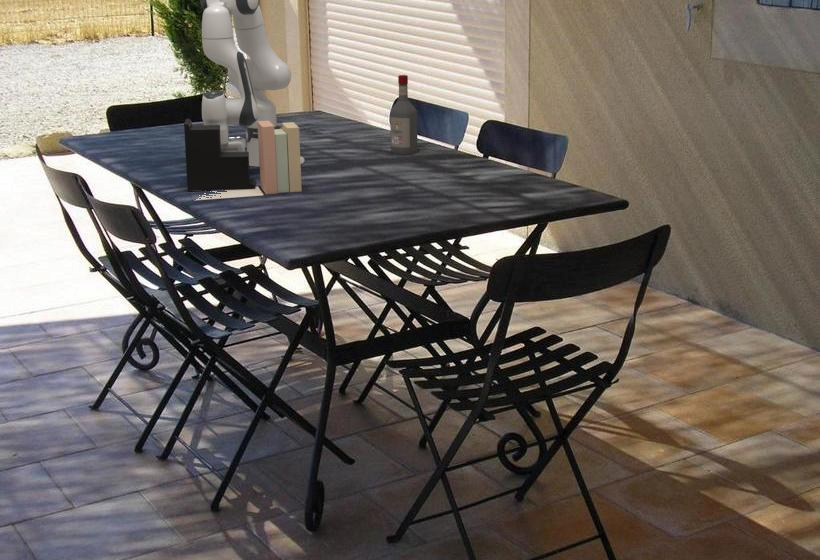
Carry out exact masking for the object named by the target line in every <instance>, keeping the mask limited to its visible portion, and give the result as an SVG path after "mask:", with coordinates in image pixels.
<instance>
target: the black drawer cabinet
mask: <svg viewBox="0 0 820 560" xmlns="http://www.w3.org/2000/svg"><path fill="white" fill-rule="evenodd" d="M183 129H184V131H183V132H184V145H185V165H186V166H185V167H186V168H185V169H186V183H187V184H186V185H187V186H186V187H187V188H186V189H187V191H202V190H221V189H255V188H256V187H257V180H256V179H255V178H254V177H250V166H249V152H247V151H245V152H221V141H220V125H204V124H202V125H201V124H200V125H199V124H198V125H197V124H196V125H195V124H194V125H193V122H192V120H191V119H190V118H186V119H185V121H184V123H183Z"/></svg>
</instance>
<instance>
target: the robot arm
mask: <svg viewBox="0 0 820 560" xmlns="http://www.w3.org/2000/svg"><path fill="white" fill-rule="evenodd" d="M199 2H200V6H201V9H202V10H203V13H202V19H201V43H202V50H203V53H204V55H205V56H206V57H207V58H208V59H209V60H210V61H211V62H213V63H215V64H216V65H219V66H223V67H224V68H227V78H228V81H229V82H230V84H231V85H233V86H234V87H235V89H236V90H237V92H238V93H239V95H240V97H226V96H225V93H224V92H223V91H221V90H210V91H206V92H204V93H203V94H202V101H201V119H202V121H203V125H220V141H221V152H249V167H257V168H258V167H259V168H260V165H259V145H258V126H257V121H270V122H271V123H272V124H273V125H274V129H282V126H279V125H277V108H276V105H275V102H273V100H272V99H271V100H270V99H269V98H268V96H267V95H266V93H265V92H264V91H265V90H266V91H279V90H283V89H286V88H287V87H288V86H289V85H290V83H291V80H292V71H291V68H290V66H289V65H288V64H287V63H286V62H285V61H283V60H281V59H282V58H280V57H279V56H278V55H277V53H276V52H275V51H274V49H273V48H272V46H271V43H270V41H269V37H268V34H267V29H266V24H265V21H264V20H265V19H264V16H263V13H262V10H261V9H262V8H261V7H260V0H199ZM232 22H233V23H232ZM233 28H234V29H233ZM234 33H235V37H236V43H237V45H236V43H235V38H234ZM237 46H238V47H237ZM239 50H240V51H239ZM244 54H246V55H247V56H248V57H249V58H246V57H245V55H244ZM228 126H242V127H245V129H246V130H245V138H246V139H245V138H244V137H242V136H230V135H229V127H228ZM245 148H246V149H245ZM304 163H305V158H304V157H303V156H302V155H300V164H301V165H302V164H304Z"/></svg>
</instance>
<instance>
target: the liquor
mask: <svg viewBox="0 0 820 560" xmlns="http://www.w3.org/2000/svg"><path fill="white" fill-rule="evenodd" d="M397 76H398V77H397V78H398V79H397V80H398V81H397V82H398V98H397V101H396V103H395V104H393V106H392V107H391V108H390V113H389V116H390V117H389V118H390V119H389V121H390V125H389V126H390V127H389V128H390V129H389V130H390V151H391V153H392V154H394V155H395V154H396V155H403V156H404V155H412V154H414V153H415V154H416V153H418V150H419V149H418V111H417V108H416V107H415V106H414V105H413V104H412V103H411V101H410V100H409V95H408V94H409V92H408V91H409V90H408V89H409V88H408V83H409V79H408V78H409V77H408V75H406V74H399V75H397Z"/></svg>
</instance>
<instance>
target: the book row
mask: <svg viewBox="0 0 820 560" xmlns="http://www.w3.org/2000/svg"><path fill="white" fill-rule="evenodd" d="M257 126H258V145H259V165H260V167H259V179H260V180H259V181H260V188H261V191H263V193H264V195H271V194H272V195H273V194H274V195H275V194H281V193H299V192H300V193H301V192H302V191H303V189H302V169H301V166H302V164H300V156H301V144H300V143H301V141H300V140H301V139H300V127H299V126H298V125H297V124H296V123H295V122H282V123H281V127H282V129H274V125H273V124H272V123H271V122H270V121H257Z"/></svg>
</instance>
